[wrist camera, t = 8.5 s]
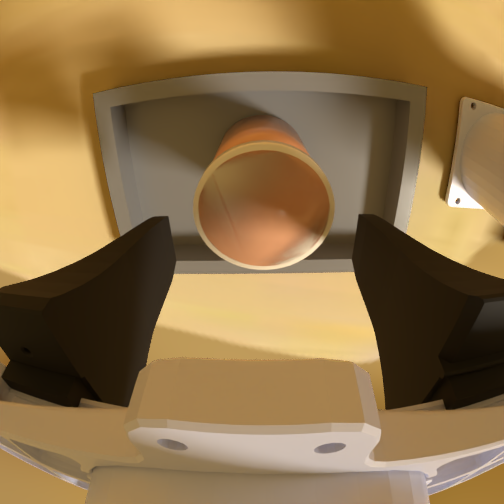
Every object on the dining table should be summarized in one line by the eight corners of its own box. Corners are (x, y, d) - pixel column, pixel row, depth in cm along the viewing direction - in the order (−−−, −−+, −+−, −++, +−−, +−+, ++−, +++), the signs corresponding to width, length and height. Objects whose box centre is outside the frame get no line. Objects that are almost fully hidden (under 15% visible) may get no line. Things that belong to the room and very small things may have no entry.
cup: (308, 111, 16) (339, 144, 10) (306, 197, 19) (328, 267, 13) (210, 114, 16) (183, 149, 10) (219, 199, 19) (203, 271, 13)
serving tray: (408, 83, 15) (427, 87, 13) (385, 250, 21) (396, 270, 19) (112, 89, 16) (92, 93, 14) (142, 253, 22) (130, 273, 20)
